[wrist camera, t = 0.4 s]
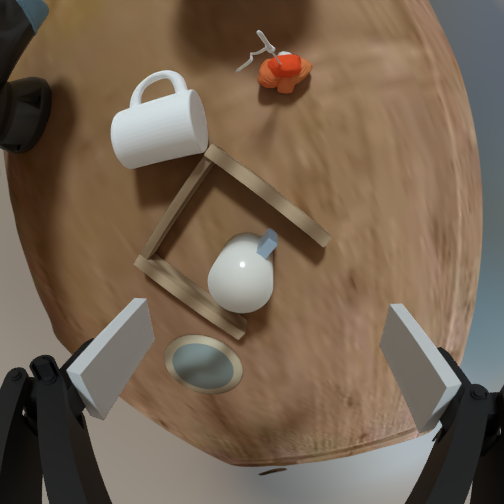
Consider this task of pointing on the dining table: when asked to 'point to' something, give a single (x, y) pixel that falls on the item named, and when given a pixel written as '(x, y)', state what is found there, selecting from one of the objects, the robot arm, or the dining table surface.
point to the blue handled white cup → (244, 272)
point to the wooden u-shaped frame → (148, 256)
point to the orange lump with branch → (279, 68)
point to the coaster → (203, 364)
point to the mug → (160, 125)
